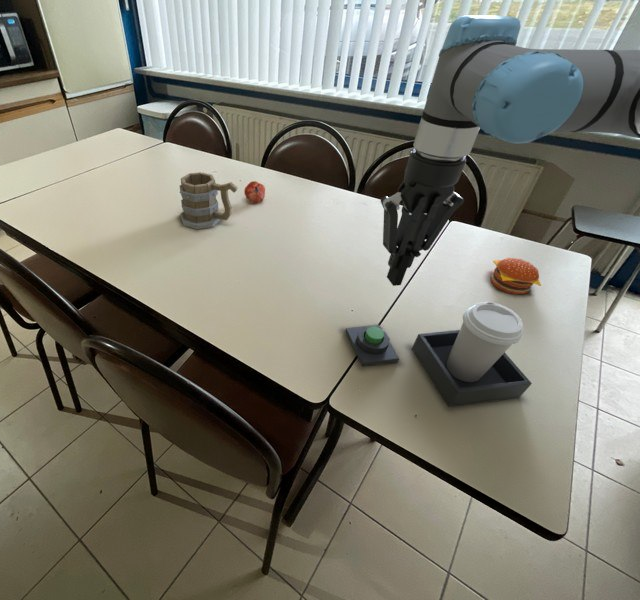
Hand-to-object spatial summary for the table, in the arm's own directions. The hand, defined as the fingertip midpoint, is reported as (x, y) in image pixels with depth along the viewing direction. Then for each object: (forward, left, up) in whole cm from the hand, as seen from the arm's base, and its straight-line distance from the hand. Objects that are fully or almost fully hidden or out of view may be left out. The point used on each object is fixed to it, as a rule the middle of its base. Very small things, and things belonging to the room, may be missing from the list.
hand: (393, 280), depth 68 cm
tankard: (+59, +31, -19) cm, 69 cm away
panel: (0, 0, -18) cm, 18 cm away
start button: (0, 0, -16) cm, 16 cm away
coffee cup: (-9, -16, -18) cm, 26 cm away
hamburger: (+16, -45, -19) cm, 51 cm away
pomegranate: (+72, +14, -19) cm, 76 cm away
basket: (-9, -16, -18) cm, 26 cm away
